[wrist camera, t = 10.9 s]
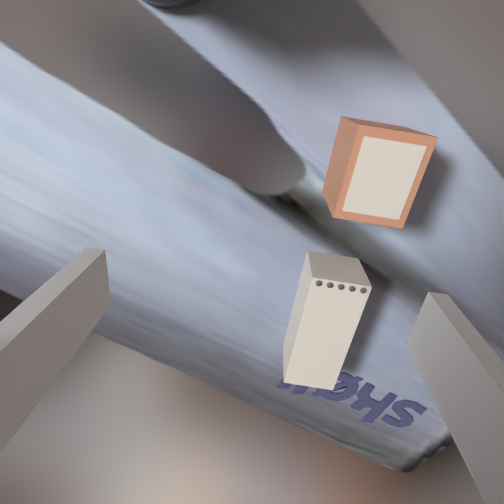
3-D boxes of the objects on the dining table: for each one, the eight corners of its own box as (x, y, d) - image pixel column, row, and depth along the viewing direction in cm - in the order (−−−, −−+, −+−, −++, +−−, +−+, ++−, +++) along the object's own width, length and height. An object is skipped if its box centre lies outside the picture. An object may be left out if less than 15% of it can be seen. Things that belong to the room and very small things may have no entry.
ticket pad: (307, 250, 50) (312, 278, 43) (358, 258, 50) (372, 287, 43) (282, 346, 59) (283, 383, 52) (326, 353, 59) (333, 391, 52)
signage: (429, 408, 63) (397, 436, 68) (428, 405, 64) (396, 433, 68) (302, 354, 59) (277, 388, 63) (302, 351, 60) (277, 385, 64)
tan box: (341, 116, 41) (359, 124, 32) (403, 126, 41) (439, 137, 32) (322, 192, 46) (333, 217, 37) (377, 201, 46) (402, 229, 37)
